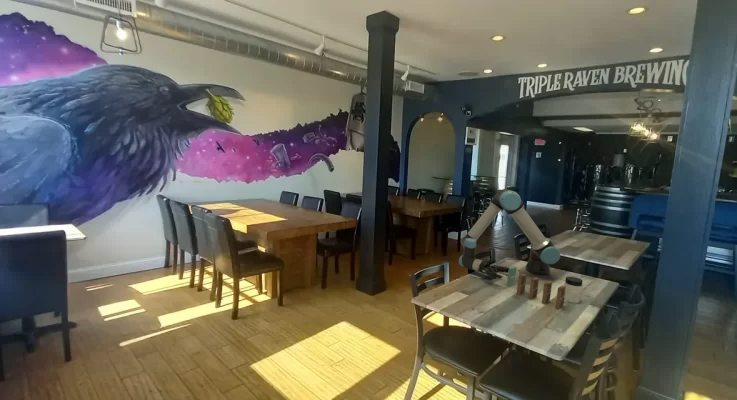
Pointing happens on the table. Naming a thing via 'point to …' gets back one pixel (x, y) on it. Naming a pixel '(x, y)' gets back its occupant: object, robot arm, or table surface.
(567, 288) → the jar
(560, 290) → the domino
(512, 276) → the domino teal
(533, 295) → the domino
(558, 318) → the table surface
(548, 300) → the domino
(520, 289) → the domino
